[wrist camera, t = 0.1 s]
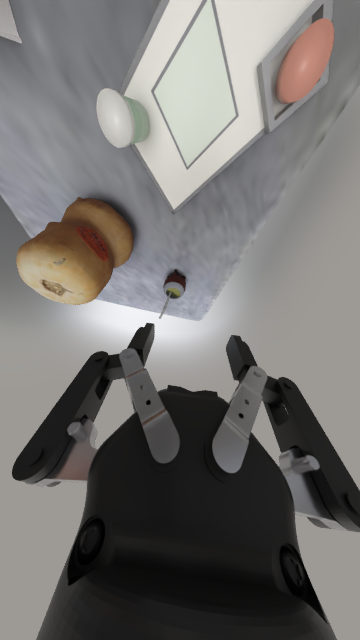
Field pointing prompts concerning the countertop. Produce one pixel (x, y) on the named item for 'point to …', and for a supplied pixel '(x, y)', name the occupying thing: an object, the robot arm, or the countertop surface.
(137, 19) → the countertop surface
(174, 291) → the mate gourd
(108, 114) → the marker
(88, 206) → the butternut squash
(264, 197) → the countertop surface
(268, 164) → the countertop surface
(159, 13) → the white flat board
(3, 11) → the skyscraper
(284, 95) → the button
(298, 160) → the countertop surface
